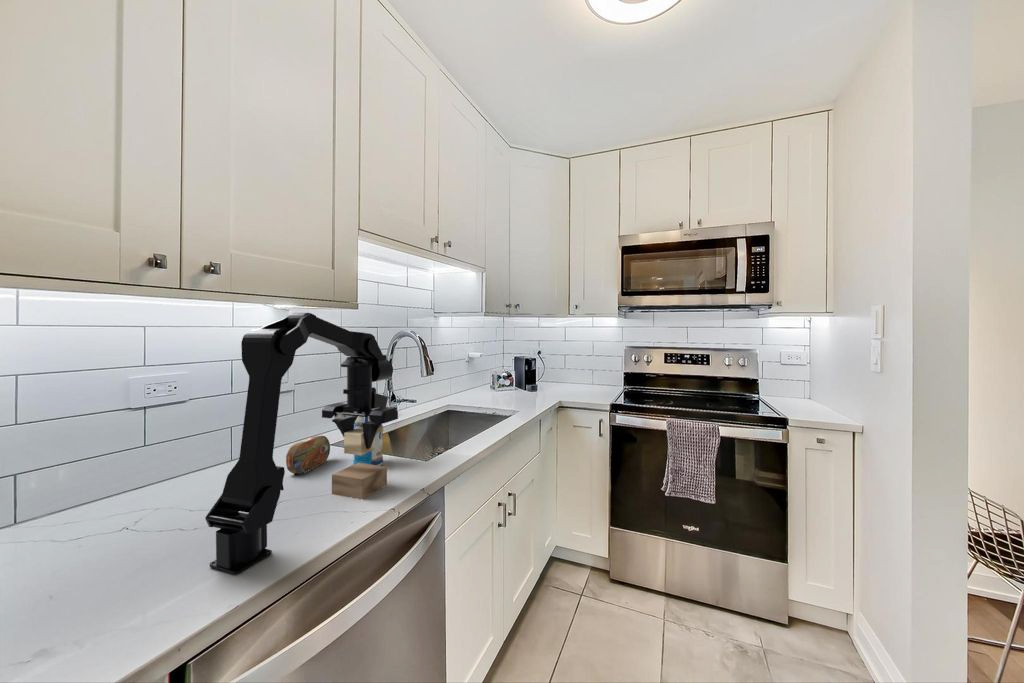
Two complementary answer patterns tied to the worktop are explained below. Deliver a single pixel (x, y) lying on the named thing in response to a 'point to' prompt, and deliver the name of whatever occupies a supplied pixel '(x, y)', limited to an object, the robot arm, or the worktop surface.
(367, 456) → the beverage bottle
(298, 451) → the tin
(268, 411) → the robot arm
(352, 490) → the walnut block
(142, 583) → the worktop surface
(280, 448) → the worktop surface
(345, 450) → the maple cube
